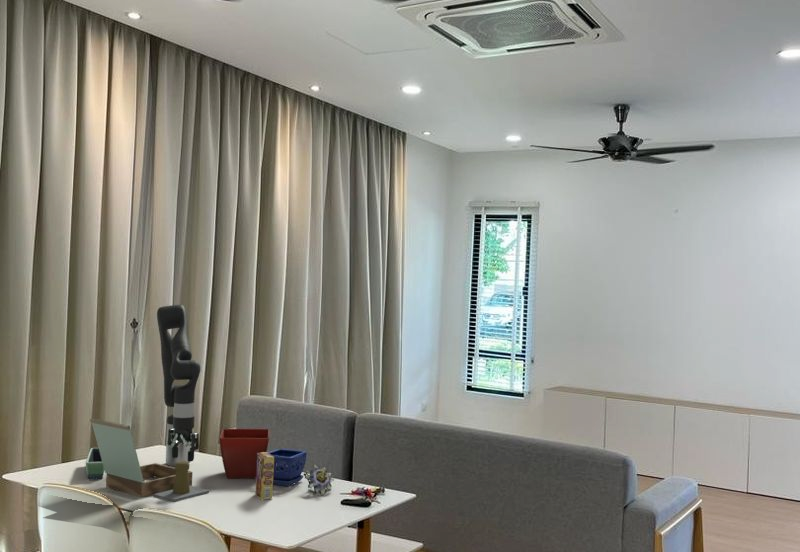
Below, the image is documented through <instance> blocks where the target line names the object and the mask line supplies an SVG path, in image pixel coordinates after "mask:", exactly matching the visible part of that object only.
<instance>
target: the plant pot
mask: <svg viewBox="0 0 800 552" xmlns="http://www.w3.org/2000/svg"><path fill="white" fill-rule="evenodd" d="M269 441H270V429H268V428H222V431H221V434H220V436H219V446H220V453H221V458H222V459H221V460H222V465H223V469H224V472H225V473H224V474H225V476H226V478H227V479H256V469H257V453H261V452H267V453H268V447H269Z"/></svg>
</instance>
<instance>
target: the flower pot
mask: <svg viewBox="0 0 800 552" xmlns="http://www.w3.org/2000/svg"><path fill="white" fill-rule="evenodd" d="M267 453H269V454H271V455H272V456H273V457H274V471H273V484H275V486H281V485H282V486H281V487H283V486H284V487H290V486H292V485H294V483H295V484H296V483H300V481H302V480H303V478H304V474H303V475H302V473H303V471H304V468H305V465H306V462H307V461H306V460H307V451H305V450H298V449H297V450H296V449H286V448H278V449H275V450H274V449H273V450H271V451H267Z"/></svg>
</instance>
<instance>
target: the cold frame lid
mask: <svg viewBox="0 0 800 552" xmlns="http://www.w3.org/2000/svg"><path fill="white" fill-rule="evenodd" d="M89 420H90V421H89V422H90V423H91V424H92V429H93V432H94V436H95V437H94V438H95V439H96V444H97V446H98V447H97V448H99V452H100V455H101V459H102V463H103V467H104V473H105V474H111V475H115V476H119V477H122V478H126V479H130V480H134V481H138V482H142V483H143V482H145V481H144V480H145V479H143V476H142V472H141V468H140V466H141V465H140V461H139V457H138V453H137V450H136V446H135V442H134V438H133V435H132V434H133V433H132V429H131V426H130V425H128V424H123V423H117V422H114V421H113V422H112V421H108V420H104V419H103V420H102V419H98V418H90V419H89Z"/></svg>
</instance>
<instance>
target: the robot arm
mask: <svg viewBox="0 0 800 552" xmlns="http://www.w3.org/2000/svg"><path fill="white" fill-rule="evenodd" d="M156 318H157V327H158V334H159V339H160V351H161V353H160V356H161V357H160V358H161V365H162V372H163V373H162V374H163V399H164V404H165V406H166V407H169V408H173V414H171V415H168V416H167V418H166V439H165V440H166V445H165V448H166V449H165V466H170V467H175V464H176V463H177V462H180V461H186V462H188V463H189V464H190V463H191V462H194V459H195V451H197V450H199V448H200V447H199V446H200V441H199V440H200V437H199V436H200V435H199V433H198V432H195V433H194V432H193V429H194V427H195V418H196V417H195V413H196V409H195V391H196V387H197V382H198V381H199V380H198V379H199V376H200V373H201V364H200V363H199V361H197V360H195V359H193V360H192V358H193V355H192V349H191V346H190V345H191V344H190V341H189V339H190V337H189V323H188V315H187V311H186V308H185V306H184V305H183V304H174V305H173V304H171V305H166V306H165V305H164V306H161V307H158V309H157V311H156ZM173 329H178V330H177V332H176V333H175V334H174V336H172V335H171V333H170V332H169V330H173ZM185 380H188V382H187V383H185V384H179V385H178V384H173V383H174V382H175V381H185Z"/></svg>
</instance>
